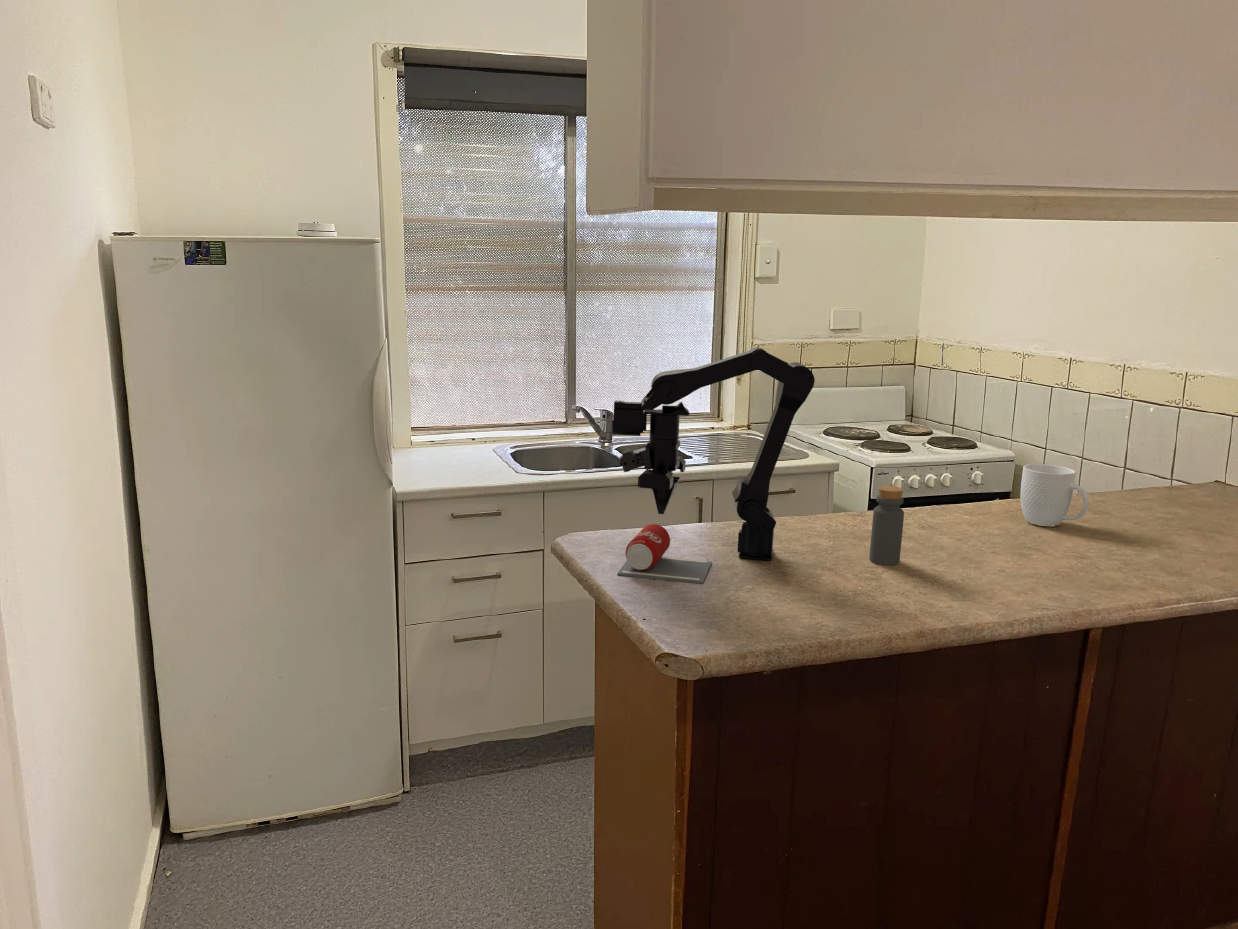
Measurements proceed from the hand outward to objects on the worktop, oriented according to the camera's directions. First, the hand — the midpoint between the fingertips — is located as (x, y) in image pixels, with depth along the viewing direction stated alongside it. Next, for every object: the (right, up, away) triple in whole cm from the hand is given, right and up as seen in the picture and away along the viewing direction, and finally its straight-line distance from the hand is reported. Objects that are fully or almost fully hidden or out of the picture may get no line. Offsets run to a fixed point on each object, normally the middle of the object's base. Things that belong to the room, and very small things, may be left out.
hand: (661, 513), depth 187 cm
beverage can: (-1, -5, -2) cm, 5 cm away
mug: (+91, -4, +30) cm, 95 cm away
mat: (0, -10, -8) cm, 13 cm away
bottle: (+44, -10, 0) cm, 46 cm away
